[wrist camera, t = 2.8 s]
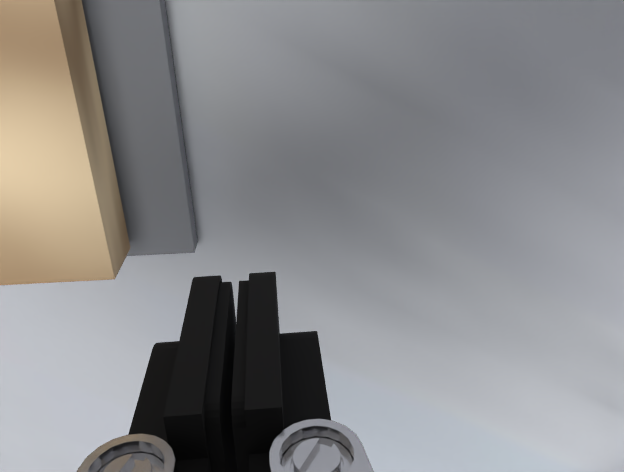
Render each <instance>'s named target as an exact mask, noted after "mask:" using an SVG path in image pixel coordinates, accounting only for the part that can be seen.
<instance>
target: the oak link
mask: <svg viewBox="0 0 624 472" xmlns="http://www.w3.org/2000/svg"><path fill="white" fill-rule="evenodd" d="M129 250H130V243H129V238H128V233H127V228H126V223H125V218H124V213H123V208H122V203H121V198H120V193H119V188H118V182H117V177H116V172H115V167H114V162H113V157H112V152H111V147H110V142H109V137H108V132H107V127H106V122H105V117H104V112H103V107H102V101H101V96H100V91H99V86H98V81H97V76H96V71H95V66H94V61H93V56H92V51H91V46H90V41H89V36H88V31H87V25H86V20H85V15H84V10H83V5H82V0H0V285H13V284H32V283H52V282H71V281H90V280H109V279H115V278H116V276H117V274H118V272H119V270H120V268H121V266H122V264H123V262H124V260H125V258H126V256H127V254H128V252H129Z"/></svg>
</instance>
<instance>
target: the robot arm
mask: <svg viewBox="0 0 624 472" xmlns="http://www.w3.org/2000/svg"><path fill="white" fill-rule="evenodd" d="M77 472H374V471H373V468H372V466H371V464H370V461H369V459H368V457H367V454H366V452H365V449H364V447H363V445H362V443H361V441H360V440H359V438H358V437H357V435H356V434H355V433H354V432H353V431H352V430H350V429H349V428H348V427H346V426H345V425H342V424H340V423H338V422H335V421H331V417H330V411H329V404H328V398H327V392H326V385H325V379H324V372H323V366H322V360H321V353H320V347H319V341H318V335H317V331H311V332H298V333H284V334H280V332H279V317H278V302H277V287H276V273H275V272H265V273H250V274H249V281H239V292H238V307H237V322H236V317H235V307H234V298H233V289H232V283H231V282H222V279H221V276H206V277H194V278H193V280H192V285H191V290H190V294H189V299H188V304H187V308H186V313H185V317H184V322H183V327H182V331H181V336H180V341H176V342H162V343H156V344H155V345H154V347H153V349H152V353H151V356H150V360H149V363H148V367H147V371H146V374H145V378H144V381H143V385H142V388H141V392H140V395H139V399H138V402H137V406H136V410H135V413H134V417H133V420H132V424H131V427H130V431H129V434H128V435H125V436H122V437H119V438H116V439H113V440H111V441H109V442H107V443H105V444H103V445H101V446H100V447H98V448H97V449H96V450H95V451H93V452H92V453H91V454H90V455H89V456H87V458H86V459H85V460H84V462H83V463H82V464H81V466H80V467H79V468H78V470H77Z"/></svg>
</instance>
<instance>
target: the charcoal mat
mask: <svg viewBox="0 0 624 472" xmlns="http://www.w3.org/2000/svg"><path fill="white" fill-rule="evenodd" d="M82 5H83V10H84V15H85V20H86V25H87V31H88V36H89V41H90V46H91V51H92V56H93V61H94V66H95V71H96V76H97V81H98V86H99V91H100V96H101V101H102V107H103V112H104V117H105V122H106V127H107V132H108V137H109V142H110V147H111V152H112V157H113V162H114V167H115V172H116V177H117V182H118V188H119V193H120V198H121V203H122V208H123V213H124V218H125V223H126V228H127V233H128V238H129V243H130V250H129V252H128V254H127V256H135V255H154V254H174V253H194V252H195V249H196V246H197V242H198V241H197V234H196V226H195V219H194V211H193V204H192V197H191V189H190V182H189V175H188V167H187V160H186V153H185V145H184V138H183V130H182V123H181V116H180V108H179V101H178V94H177V86H176V79H175V72H174V64H173V57H172V49H171V42H170V35H169V27H168V20H167V13H166V5H165V0H82Z"/></svg>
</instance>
